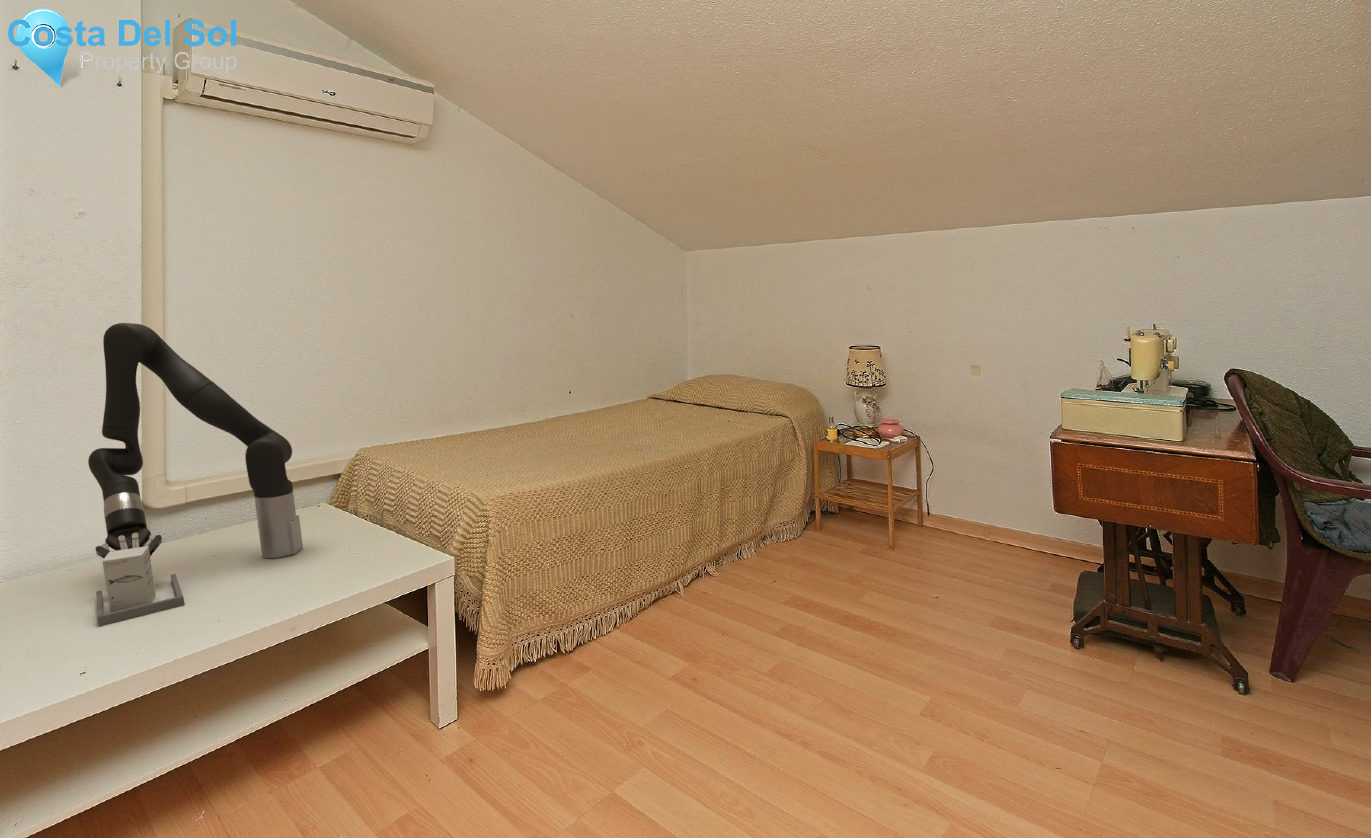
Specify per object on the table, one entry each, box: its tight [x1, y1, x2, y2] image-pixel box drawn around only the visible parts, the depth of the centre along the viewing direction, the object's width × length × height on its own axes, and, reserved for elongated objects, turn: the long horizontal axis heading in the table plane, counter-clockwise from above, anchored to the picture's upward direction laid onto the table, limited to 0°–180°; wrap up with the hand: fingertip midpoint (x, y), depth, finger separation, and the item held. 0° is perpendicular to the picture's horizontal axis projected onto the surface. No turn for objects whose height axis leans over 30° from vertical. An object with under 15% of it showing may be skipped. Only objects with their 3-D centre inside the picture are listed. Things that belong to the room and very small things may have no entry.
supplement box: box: [101, 545, 156, 613], centre depth 152 cm, size 7×7×13 cm
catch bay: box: [95, 573, 185, 627], centre depth 154 cm, size 18×15×2 cm
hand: (134, 576), depth 156 cm, fingers closed
